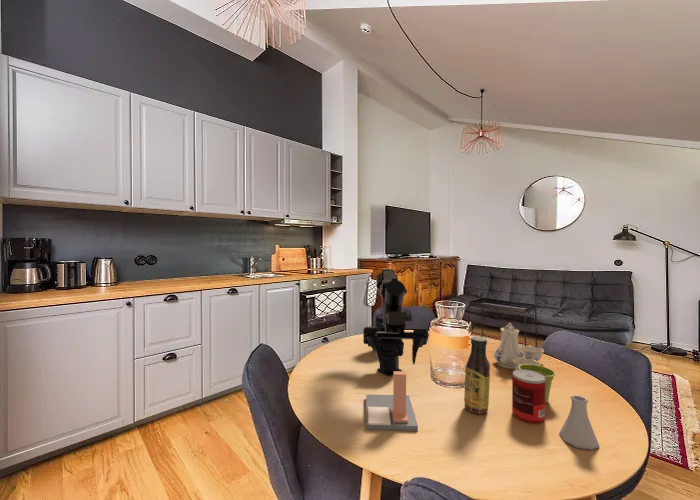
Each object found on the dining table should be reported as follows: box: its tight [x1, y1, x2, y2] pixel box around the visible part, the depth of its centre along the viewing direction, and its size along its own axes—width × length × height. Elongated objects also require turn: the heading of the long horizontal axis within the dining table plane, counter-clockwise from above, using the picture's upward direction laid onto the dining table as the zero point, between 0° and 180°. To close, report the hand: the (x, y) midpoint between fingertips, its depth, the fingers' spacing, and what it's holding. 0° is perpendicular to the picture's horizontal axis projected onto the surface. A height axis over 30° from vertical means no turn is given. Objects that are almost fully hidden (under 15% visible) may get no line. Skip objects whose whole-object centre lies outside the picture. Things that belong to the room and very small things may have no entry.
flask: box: [558, 394, 600, 451], centre depth 74 cm, size 7×7×10 cm
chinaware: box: [493, 322, 545, 370], centre depth 120 cm, size 28×17×17 cm, turn 150°
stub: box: [392, 370, 408, 423], centre depth 82 cm, size 6×4×11 cm, turn 177°
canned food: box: [511, 369, 546, 425], centre depth 85 cm, size 8×8×11 cm
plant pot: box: [518, 364, 556, 404], centre depth 95 cm, size 9×9×9 cm
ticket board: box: [365, 394, 419, 432], centre depth 86 cm, size 16×12×2 cm
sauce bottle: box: [463, 336, 491, 415], centre depth 88 cm, size 7×6×20 cm
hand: (397, 363), depth 88 cm, fingers open, 9 cm apart
